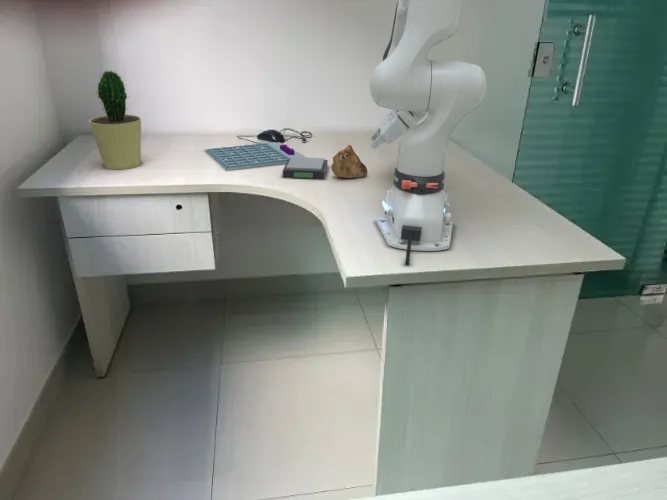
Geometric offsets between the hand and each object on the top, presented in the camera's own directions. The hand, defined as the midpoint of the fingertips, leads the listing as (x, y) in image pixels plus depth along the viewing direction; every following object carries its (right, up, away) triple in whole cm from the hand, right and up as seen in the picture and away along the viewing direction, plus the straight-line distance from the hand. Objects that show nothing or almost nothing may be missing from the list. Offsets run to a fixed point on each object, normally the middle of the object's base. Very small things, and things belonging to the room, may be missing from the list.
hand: (372, 143), depth 160 cm
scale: (-21, -7, +9) cm, 24 cm away
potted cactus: (-82, -5, +12) cm, 83 cm away
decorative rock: (-7, -10, +5) cm, 13 cm away
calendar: (-40, +1, +26) cm, 47 cm away
